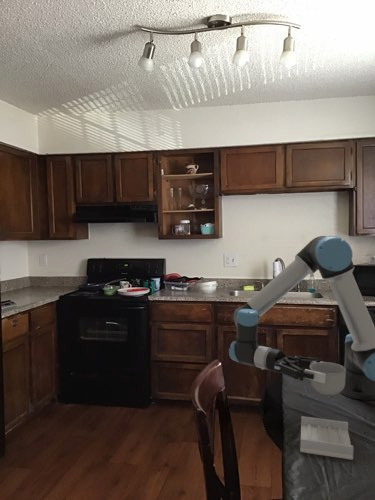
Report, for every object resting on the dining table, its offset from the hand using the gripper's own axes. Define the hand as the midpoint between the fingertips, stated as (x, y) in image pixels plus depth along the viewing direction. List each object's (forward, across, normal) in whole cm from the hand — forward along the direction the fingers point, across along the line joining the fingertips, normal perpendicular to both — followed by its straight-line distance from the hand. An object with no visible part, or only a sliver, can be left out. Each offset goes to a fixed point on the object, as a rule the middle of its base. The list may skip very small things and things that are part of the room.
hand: (332, 374), depth 133 cm
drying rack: (+2, +8, -18) cm, 20 cm away
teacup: (-3, -1, -6) cm, 7 cm away
